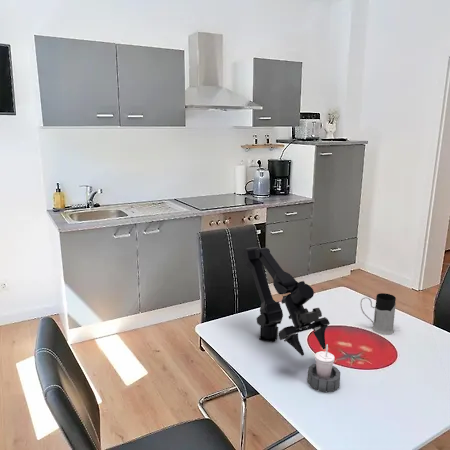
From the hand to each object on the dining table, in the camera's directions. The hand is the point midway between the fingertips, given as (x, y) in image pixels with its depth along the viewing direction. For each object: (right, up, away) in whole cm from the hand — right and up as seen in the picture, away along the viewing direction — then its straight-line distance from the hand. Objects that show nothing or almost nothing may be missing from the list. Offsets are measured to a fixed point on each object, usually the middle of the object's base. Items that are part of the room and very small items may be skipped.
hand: (314, 352), depth 138 cm
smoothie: (+2, -9, -3) cm, 10 cm away
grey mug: (+34, -1, +34) cm, 48 cm away
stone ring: (+2, -9, -3) cm, 10 cm away
